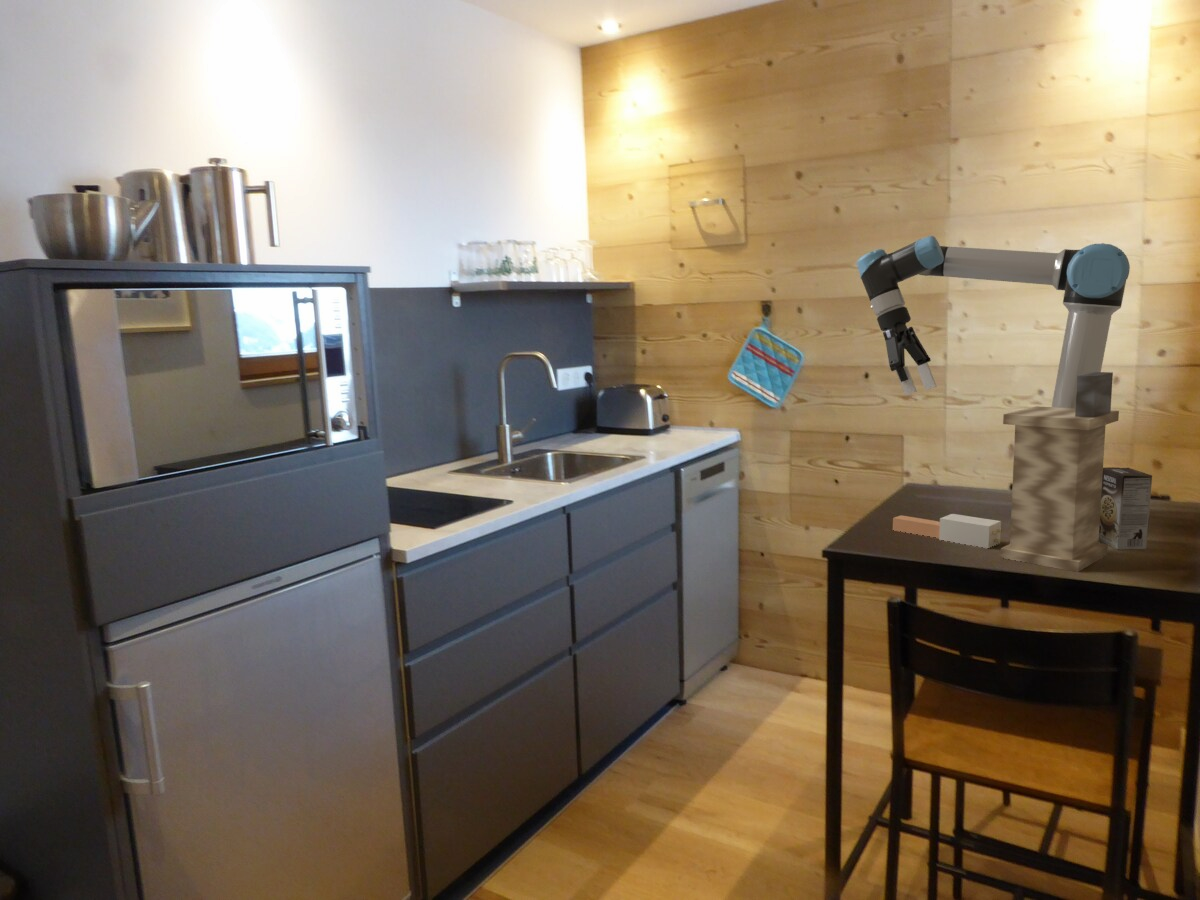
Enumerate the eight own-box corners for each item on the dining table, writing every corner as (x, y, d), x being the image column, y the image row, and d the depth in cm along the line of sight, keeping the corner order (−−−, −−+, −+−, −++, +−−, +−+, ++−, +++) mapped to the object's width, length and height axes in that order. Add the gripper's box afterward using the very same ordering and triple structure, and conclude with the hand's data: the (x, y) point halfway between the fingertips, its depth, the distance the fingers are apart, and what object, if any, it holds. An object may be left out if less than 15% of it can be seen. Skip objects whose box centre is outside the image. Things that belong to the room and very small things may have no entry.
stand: (997, 557, 181) (1005, 374, 176) (1029, 541, 193) (1038, 369, 187) (1080, 572, 170) (1091, 377, 164) (1110, 554, 181) (1121, 371, 175)
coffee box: (1094, 538, 193) (1098, 467, 191) (1123, 538, 193) (1128, 466, 191) (1117, 550, 184) (1121, 474, 182) (1148, 549, 184) (1153, 474, 182)
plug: (890, 531, 205) (890, 510, 204) (902, 526, 209) (903, 506, 208) (991, 549, 188) (992, 526, 187) (1003, 543, 192) (1004, 521, 191)
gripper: (896, 316, 229) (925, 391, 227) (856, 318, 211) (887, 401, 209) (923, 304, 225) (952, 381, 222) (884, 306, 206) (916, 390, 204)
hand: (921, 391), depth 216 cm, fingers open, 13 cm apart
